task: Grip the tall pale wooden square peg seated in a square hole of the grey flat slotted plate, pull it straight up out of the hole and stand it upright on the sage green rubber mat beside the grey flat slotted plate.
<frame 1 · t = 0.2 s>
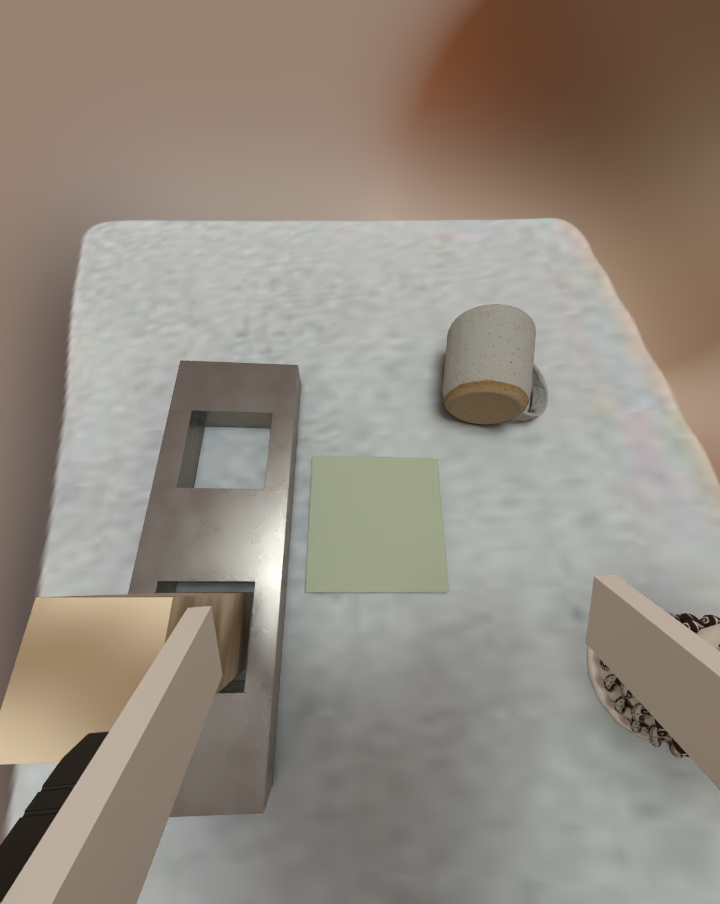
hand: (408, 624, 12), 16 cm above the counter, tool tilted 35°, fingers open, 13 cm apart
decorative candle: (639, 669, 26), on the counter
grey flat slotted plate: (225, 544, 27), on the counter
mat: (376, 521, 29), on the counter
peg: (214, 629, 25), resting in grey flat slotted plate
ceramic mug: (484, 392, 35), on the counter
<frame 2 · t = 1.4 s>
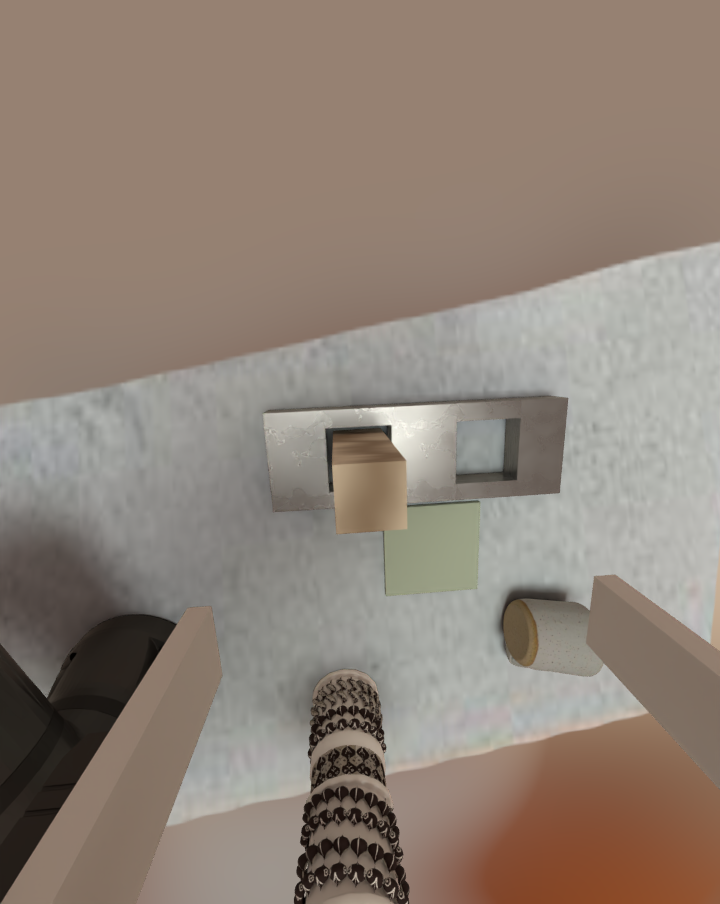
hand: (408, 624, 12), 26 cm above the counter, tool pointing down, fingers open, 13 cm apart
decorative candle: (345, 695, 45), on the counter
grey flat slotted plate: (413, 449, 38), on the counter
mat: (430, 548, 41), on the counter
peg: (357, 452, 37), resting in grey flat slotted plate
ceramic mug: (529, 621, 44), on the counter
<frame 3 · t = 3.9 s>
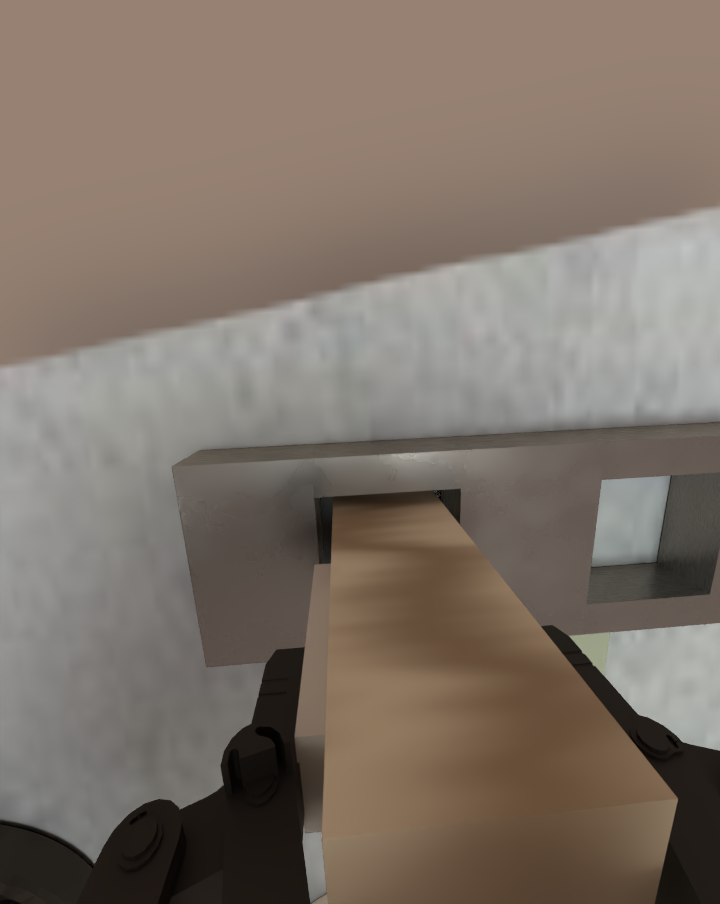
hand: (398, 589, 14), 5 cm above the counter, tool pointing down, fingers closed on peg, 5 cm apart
grey flat slotted plate: (489, 523, 19), on the counter
mat: (512, 695, 22), on the counter
peg: (382, 530, 19), resting in grey flat slotted plate, touching gripper
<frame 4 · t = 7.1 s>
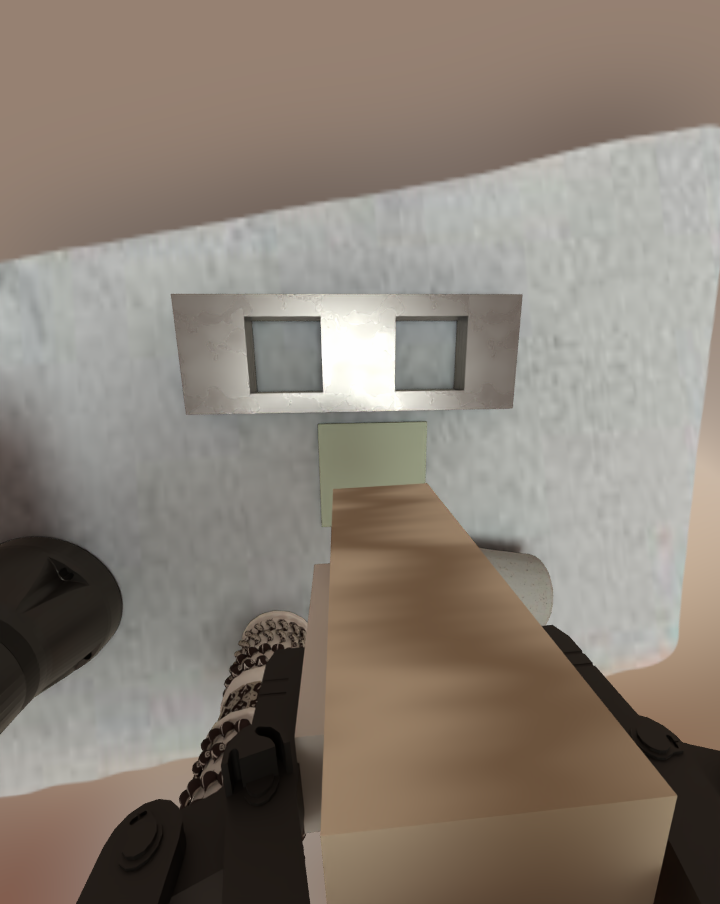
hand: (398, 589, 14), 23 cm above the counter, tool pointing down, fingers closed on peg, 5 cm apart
decorative candle: (279, 640, 41), on the counter
grey flat slotted plate: (351, 356, 34), on the counter
mat: (372, 474, 37), on the counter
peg: (381, 529, 19), point 18 cm above the counter, touching gripper
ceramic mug: (480, 576, 41), on the counter
when the fingers open (7 cm above the counter, at t = 10.2 s): peg drops 1 cm, resting on mat.
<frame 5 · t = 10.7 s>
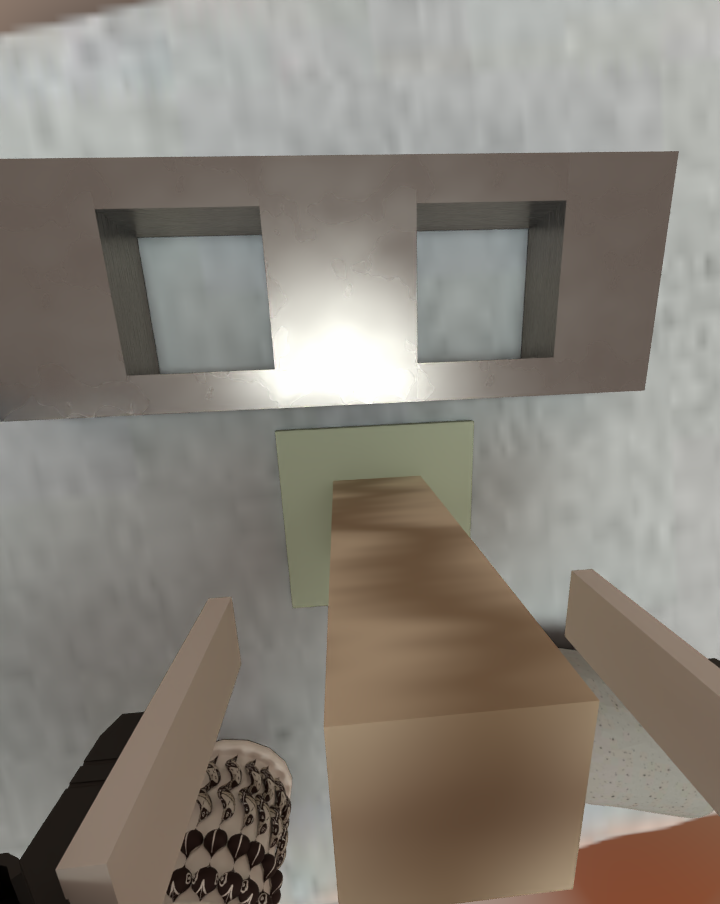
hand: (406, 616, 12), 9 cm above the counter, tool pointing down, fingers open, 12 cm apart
decorative candle: (234, 782, 25), on the counter
grey flat slotted plate: (332, 302, 18), on the counter
mat: (377, 515, 21), on the counter
peg: (378, 518, 20), resting on mat
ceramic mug: (555, 682, 25), on the counter
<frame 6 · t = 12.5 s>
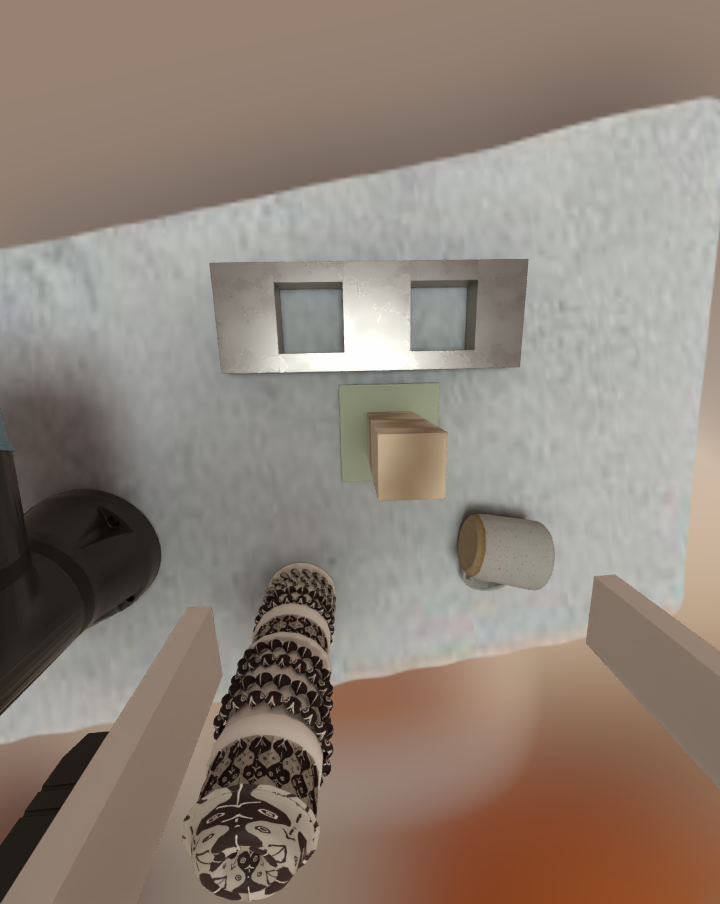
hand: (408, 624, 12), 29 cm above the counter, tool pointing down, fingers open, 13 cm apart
decorative candle: (302, 591, 44), on the counter
grey flat slotted plate: (369, 321, 37), on the counter
mat: (389, 433, 39), on the counter
peg: (389, 433, 39), resting on mat
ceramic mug: (487, 543, 43), on the counter
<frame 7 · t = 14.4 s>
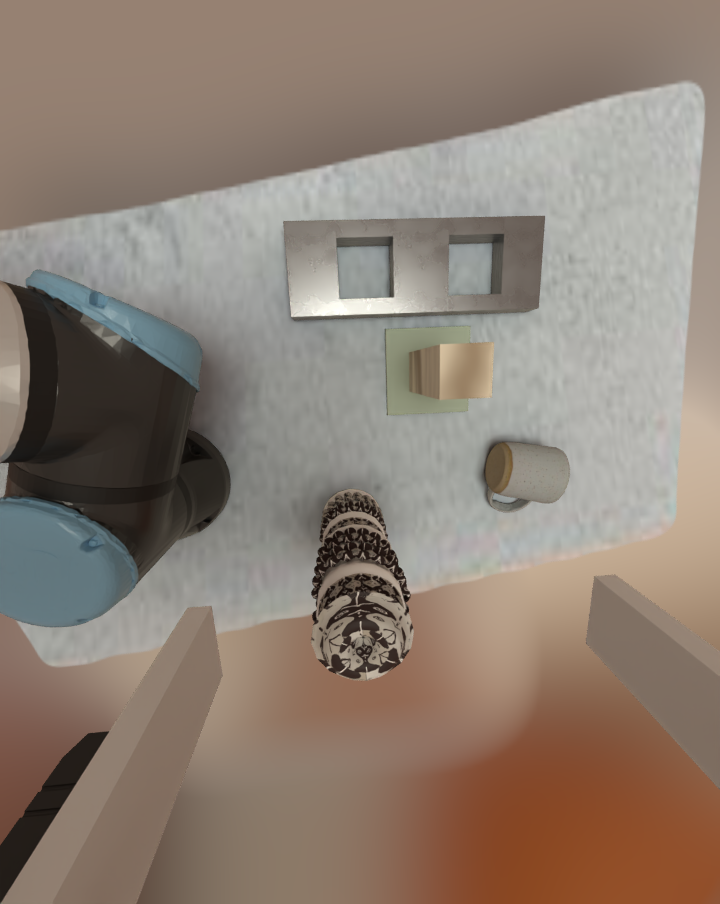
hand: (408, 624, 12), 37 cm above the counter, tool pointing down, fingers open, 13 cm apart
decorative candle: (351, 516, 50), on the counter
grey flat slotted plate: (411, 273, 43), on the counter
mat: (427, 371, 46), on the counter
peg: (428, 371, 46), resting on mat
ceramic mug: (509, 472, 51), on the counter
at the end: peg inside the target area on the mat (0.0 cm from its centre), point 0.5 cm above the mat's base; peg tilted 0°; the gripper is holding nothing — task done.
